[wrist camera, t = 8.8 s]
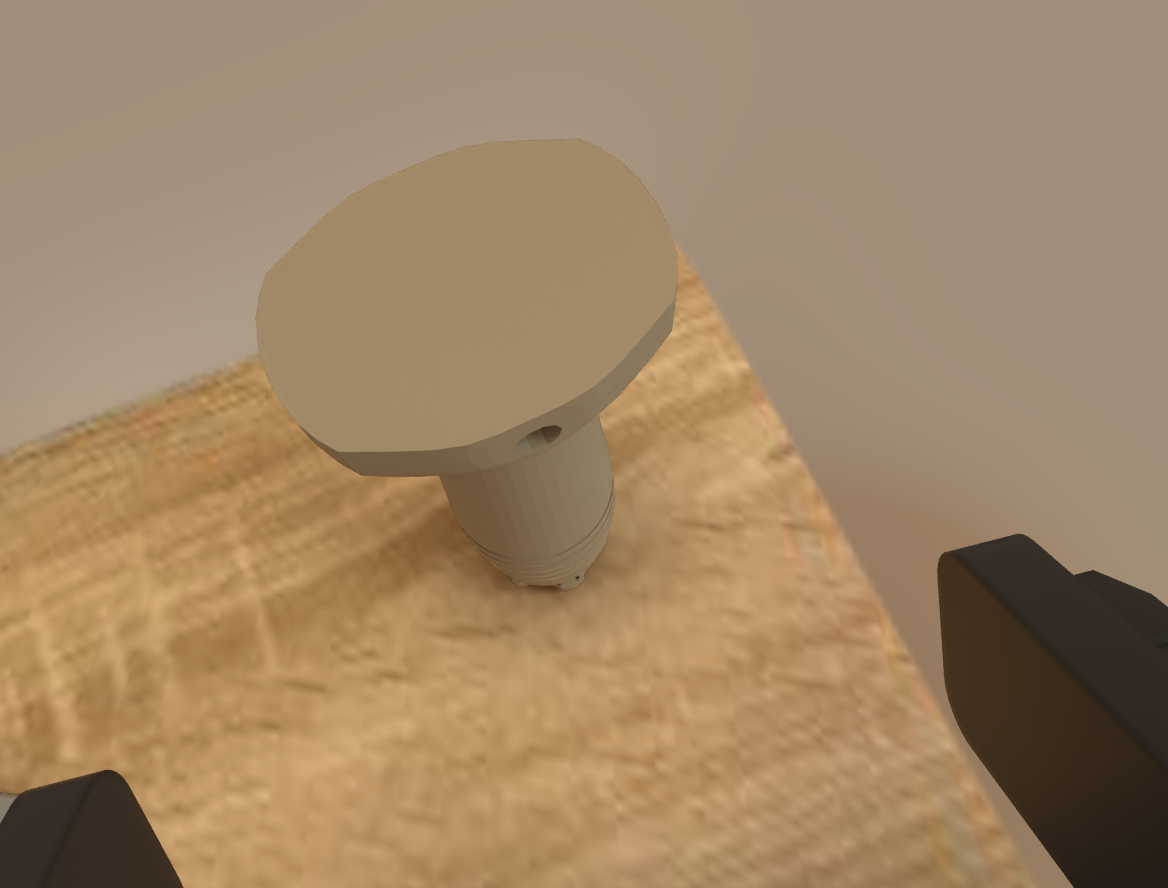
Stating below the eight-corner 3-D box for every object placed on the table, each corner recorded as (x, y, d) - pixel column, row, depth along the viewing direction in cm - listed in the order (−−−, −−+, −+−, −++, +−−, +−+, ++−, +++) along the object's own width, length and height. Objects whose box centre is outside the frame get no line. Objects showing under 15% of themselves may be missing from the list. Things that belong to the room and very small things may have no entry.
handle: (421, 519, 29) (217, 248, 15) (612, 430, 30) (588, 91, 16) (485, 665, 27) (321, 516, 13) (685, 567, 28) (733, 326, 14)
